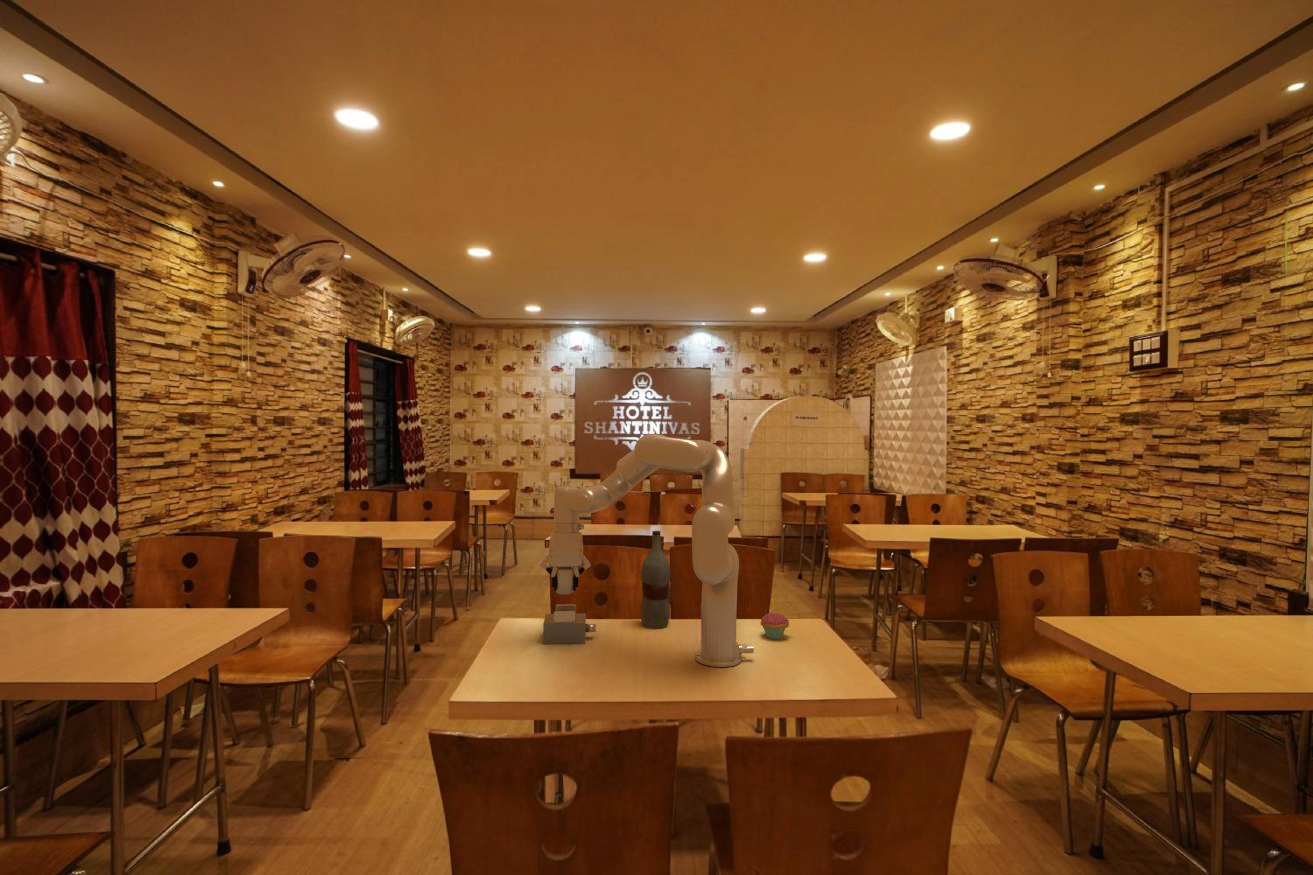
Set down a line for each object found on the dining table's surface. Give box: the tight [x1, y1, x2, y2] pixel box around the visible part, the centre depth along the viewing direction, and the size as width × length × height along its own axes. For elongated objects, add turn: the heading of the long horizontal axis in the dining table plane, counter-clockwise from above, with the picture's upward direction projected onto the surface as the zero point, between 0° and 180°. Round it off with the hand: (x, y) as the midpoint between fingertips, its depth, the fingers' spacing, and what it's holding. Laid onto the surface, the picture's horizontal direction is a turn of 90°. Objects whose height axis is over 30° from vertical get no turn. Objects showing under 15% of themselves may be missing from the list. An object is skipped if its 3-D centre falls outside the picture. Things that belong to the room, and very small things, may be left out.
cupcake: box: [760, 597, 790, 640], centre depth 190 cm, size 9×8×12 cm
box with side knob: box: [542, 603, 597, 646], centre depth 187 cm, size 15×12×9 cm
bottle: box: [640, 530, 671, 630], centre depth 201 cm, size 9×9×30 cm
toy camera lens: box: [556, 567, 575, 595], centre depth 186 cm, size 5×5×8 cm
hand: (565, 588), depth 186 cm, fingers closed on toy camera lens, 5 cm apart
